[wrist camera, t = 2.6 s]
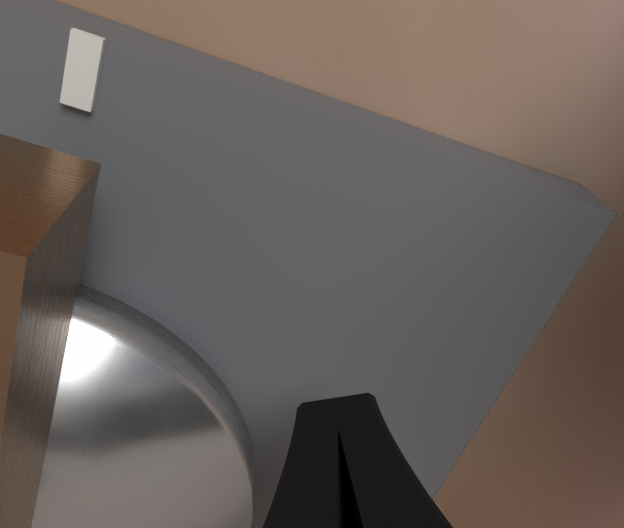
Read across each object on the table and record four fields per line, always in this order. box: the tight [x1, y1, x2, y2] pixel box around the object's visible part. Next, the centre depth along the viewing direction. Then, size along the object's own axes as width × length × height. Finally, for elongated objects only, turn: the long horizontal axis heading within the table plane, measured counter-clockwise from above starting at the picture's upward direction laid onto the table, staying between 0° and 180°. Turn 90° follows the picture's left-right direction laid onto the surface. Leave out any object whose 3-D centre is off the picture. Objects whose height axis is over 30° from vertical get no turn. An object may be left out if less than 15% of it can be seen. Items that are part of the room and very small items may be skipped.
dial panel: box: [0, 0, 617, 528], centre depth 14 cm, size 20×20×2 cm
